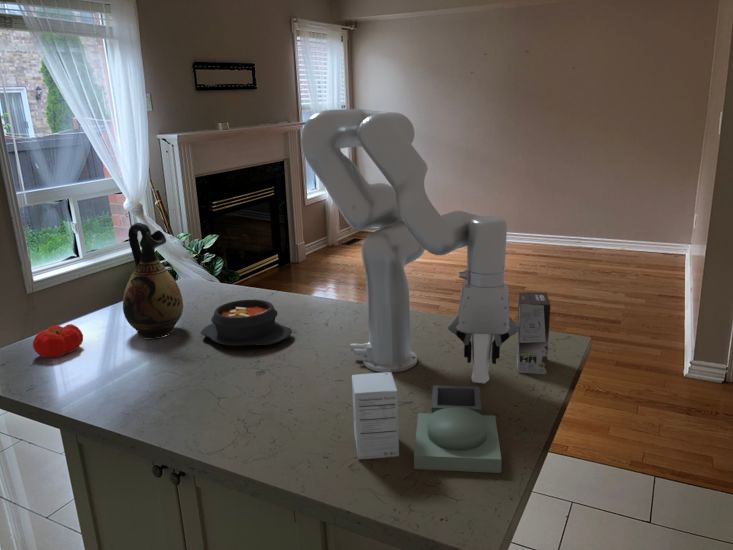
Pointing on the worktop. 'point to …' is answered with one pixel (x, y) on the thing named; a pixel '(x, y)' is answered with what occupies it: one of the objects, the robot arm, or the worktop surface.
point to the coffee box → (532, 332)
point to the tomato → (57, 341)
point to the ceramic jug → (150, 288)
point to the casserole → (246, 324)
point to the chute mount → (457, 433)
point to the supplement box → (375, 415)
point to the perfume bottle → (481, 357)
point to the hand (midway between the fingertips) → (481, 359)
